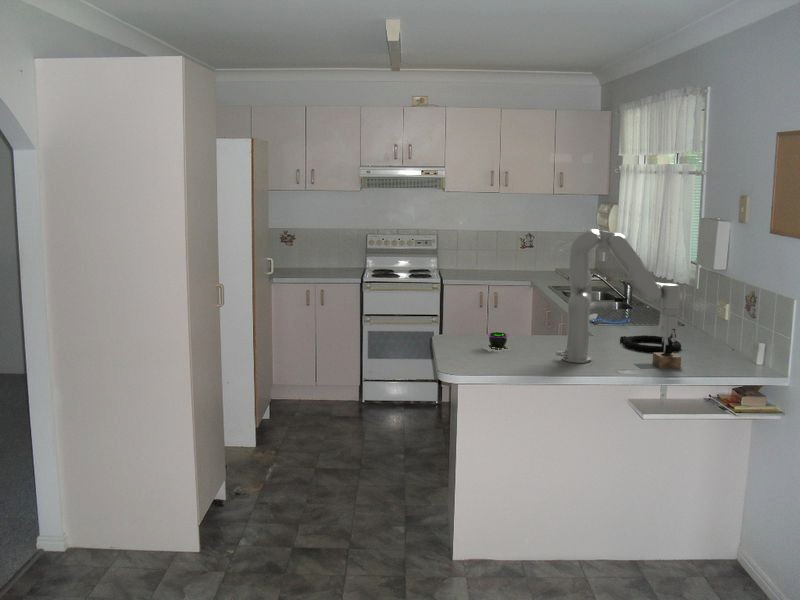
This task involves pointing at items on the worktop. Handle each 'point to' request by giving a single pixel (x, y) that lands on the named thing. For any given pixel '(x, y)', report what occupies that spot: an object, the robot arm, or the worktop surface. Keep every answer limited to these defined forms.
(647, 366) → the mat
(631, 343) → the cable lock
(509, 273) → the worktop surface
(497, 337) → the toy cauldron
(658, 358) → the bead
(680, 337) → the worktop surface
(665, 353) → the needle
